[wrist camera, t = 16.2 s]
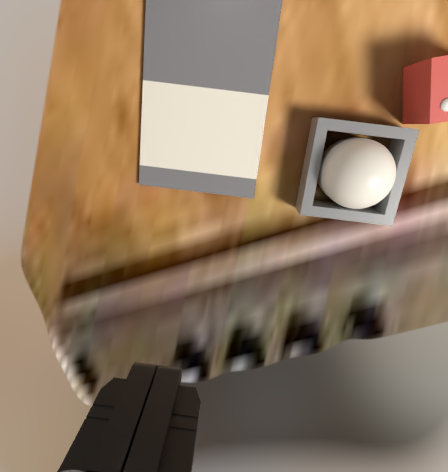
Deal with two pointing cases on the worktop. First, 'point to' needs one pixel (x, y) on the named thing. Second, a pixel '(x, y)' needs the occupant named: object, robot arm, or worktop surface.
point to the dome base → (305, 203)
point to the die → (426, 91)
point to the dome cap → (357, 172)
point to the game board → (206, 93)
